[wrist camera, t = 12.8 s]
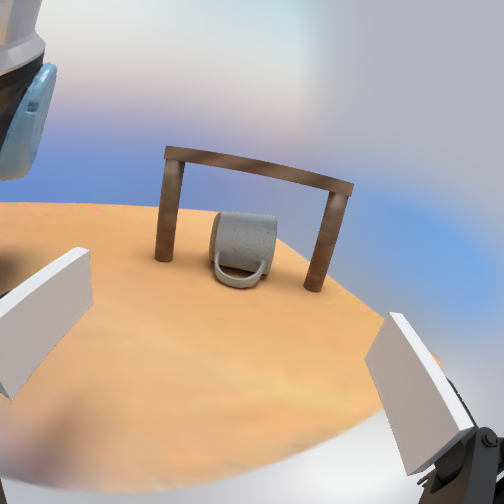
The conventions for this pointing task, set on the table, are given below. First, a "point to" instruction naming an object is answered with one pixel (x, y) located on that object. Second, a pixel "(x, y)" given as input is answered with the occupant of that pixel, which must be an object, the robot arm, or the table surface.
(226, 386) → the table surface
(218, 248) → the ceramic mug
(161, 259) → the walnut gate
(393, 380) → the robot arm
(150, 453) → the table surface
